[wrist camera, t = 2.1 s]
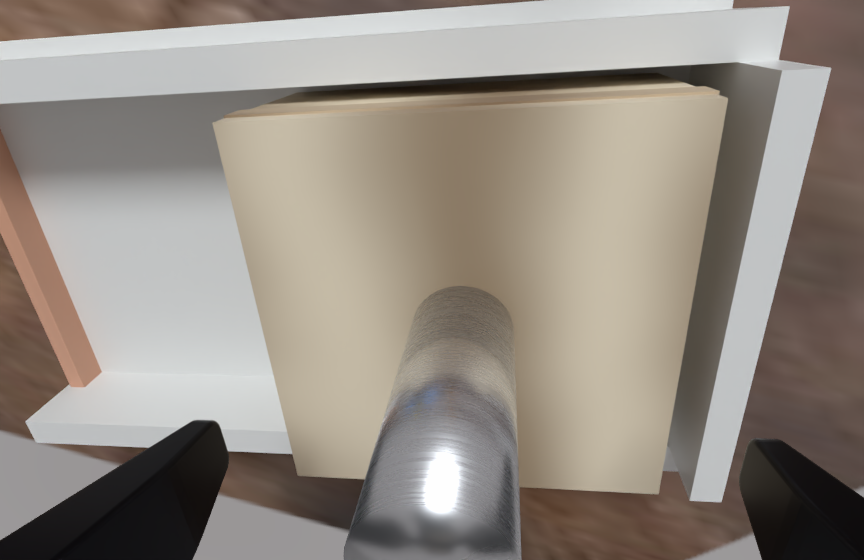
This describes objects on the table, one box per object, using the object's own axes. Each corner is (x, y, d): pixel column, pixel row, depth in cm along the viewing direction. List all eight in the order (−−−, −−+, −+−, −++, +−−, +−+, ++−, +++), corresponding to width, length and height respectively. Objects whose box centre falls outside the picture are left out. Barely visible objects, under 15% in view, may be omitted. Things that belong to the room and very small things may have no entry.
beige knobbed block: (343, 373, 20) (185, 722, 10) (295, 90, 15) (-77, 219, 5) (622, 379, 18) (757, 793, 9) (658, 70, 14) (1027, 195, 4)
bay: (109, 388, 23) (-5, 496, 18) (-34, 44, 17) (-271, 56, 12) (657, 404, 20) (711, 540, 15) (723, -13, 14) (856, -31, 9)
